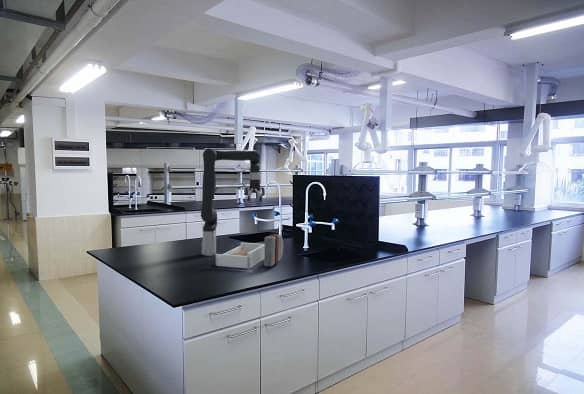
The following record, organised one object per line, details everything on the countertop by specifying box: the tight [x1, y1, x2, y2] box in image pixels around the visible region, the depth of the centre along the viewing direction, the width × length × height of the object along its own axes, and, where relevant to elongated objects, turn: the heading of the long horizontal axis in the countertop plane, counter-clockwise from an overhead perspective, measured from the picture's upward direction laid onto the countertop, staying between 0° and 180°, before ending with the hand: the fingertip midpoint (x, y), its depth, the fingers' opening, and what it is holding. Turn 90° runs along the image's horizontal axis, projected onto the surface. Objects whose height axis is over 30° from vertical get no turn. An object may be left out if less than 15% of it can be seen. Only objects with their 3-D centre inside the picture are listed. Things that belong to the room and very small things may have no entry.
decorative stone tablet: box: [263, 234, 284, 267], centre depth 240 cm, size 19×6×30 cm
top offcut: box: [230, 250, 251, 256], centre depth 248 cm, size 6×15×2 cm, turn 150°
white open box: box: [215, 242, 265, 269], centre depth 246 cm, size 22×40×10 cm, turn 165°
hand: (254, 201), depth 265 cm, fingers open, 8 cm apart
